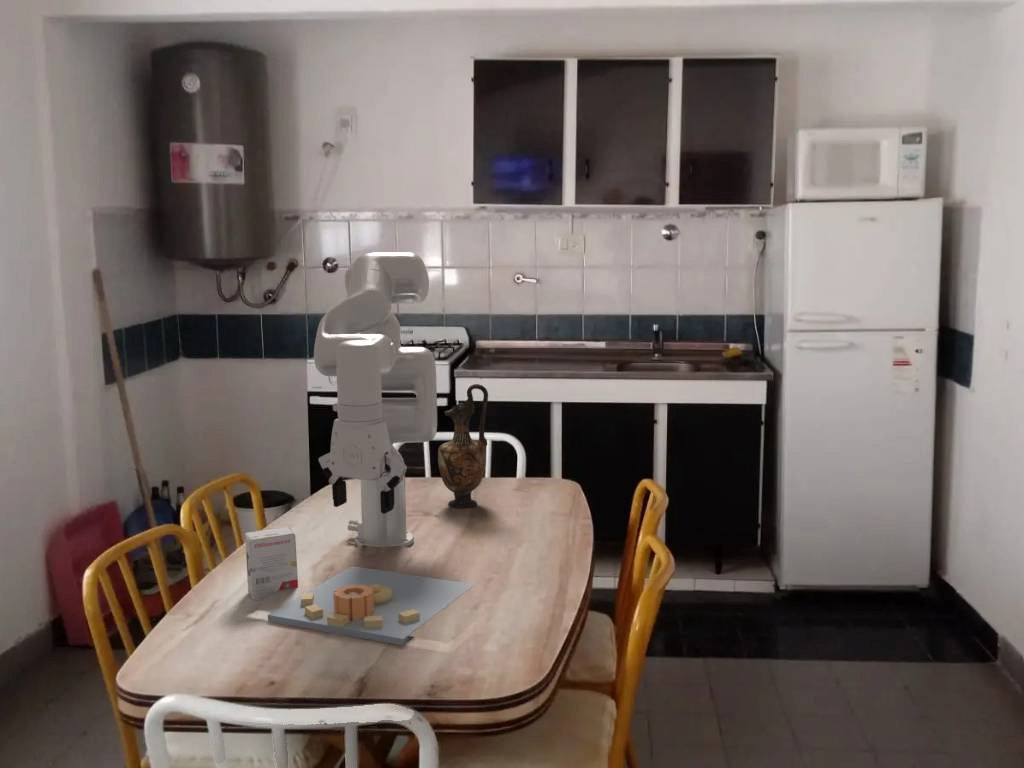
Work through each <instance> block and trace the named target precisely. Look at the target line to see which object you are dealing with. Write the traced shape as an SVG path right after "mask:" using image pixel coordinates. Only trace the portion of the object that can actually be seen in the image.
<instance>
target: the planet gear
mask: <svg viewBox="0 0 1024 768" xmlns="http://www.w3.org/2000/svg"><path fill="white" fill-rule="evenodd" d="M352 592H356V593H357V595H348V594H349V593H352ZM334 613H336V614H342V615H348V616H349V621H350V620H353V621H356V620H362V619H364V618H365V616H371V615H373V614H374V590H373V589H372V588H371V587H369V586H367V585H360V584H358V585H357V586H356V585H355V584H354V585H347V586H343V587H340V588H338V589H336V590H335V591H334Z"/></svg>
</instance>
